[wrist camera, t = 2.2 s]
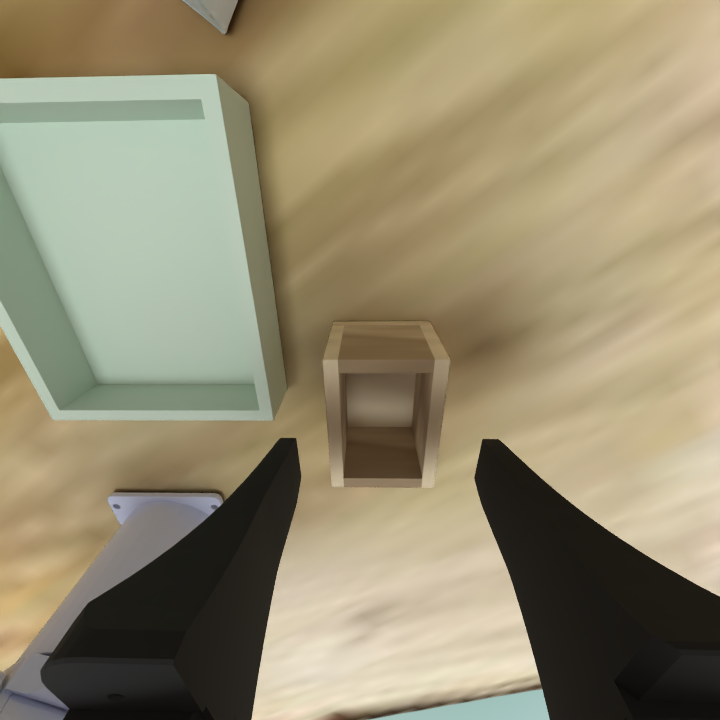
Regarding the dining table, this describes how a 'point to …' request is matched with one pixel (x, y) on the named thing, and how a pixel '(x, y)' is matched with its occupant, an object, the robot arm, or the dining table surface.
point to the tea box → (215, 11)
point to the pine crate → (384, 403)
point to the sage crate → (137, 249)
